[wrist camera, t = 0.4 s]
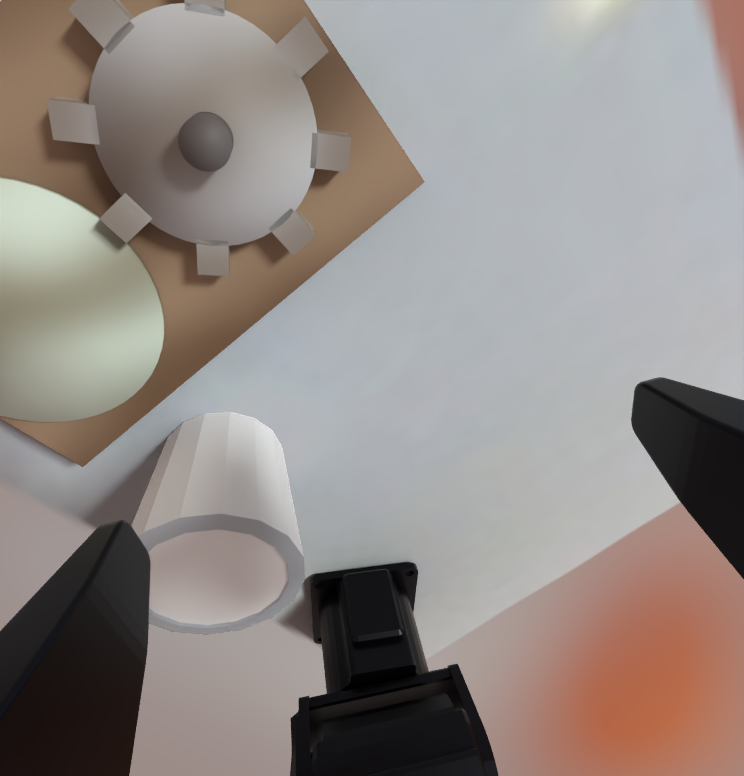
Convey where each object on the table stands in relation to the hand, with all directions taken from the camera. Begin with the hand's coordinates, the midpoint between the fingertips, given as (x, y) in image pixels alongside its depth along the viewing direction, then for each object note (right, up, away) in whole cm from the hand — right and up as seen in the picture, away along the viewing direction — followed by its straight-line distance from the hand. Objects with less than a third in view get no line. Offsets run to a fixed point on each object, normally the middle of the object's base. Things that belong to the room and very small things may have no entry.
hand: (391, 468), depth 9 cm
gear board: (-9, +7, +9) cm, 15 cm away
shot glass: (-7, -2, +16) cm, 18 cm away
